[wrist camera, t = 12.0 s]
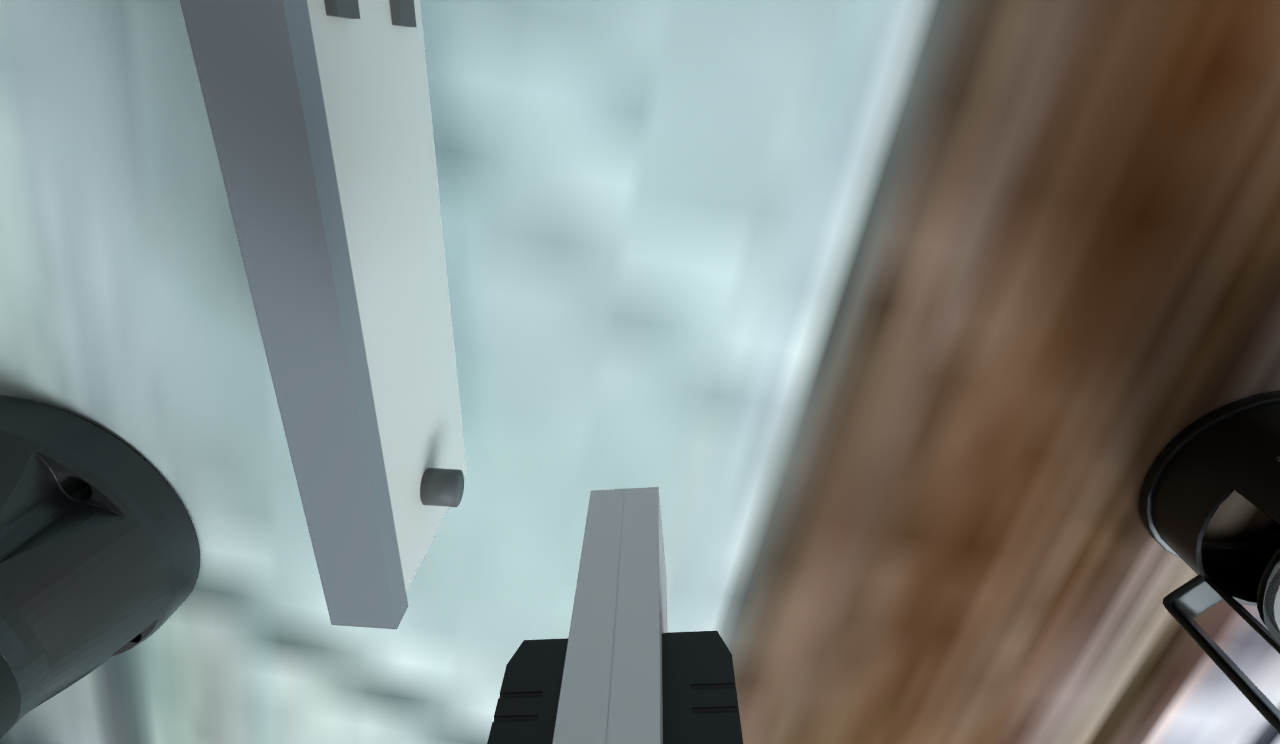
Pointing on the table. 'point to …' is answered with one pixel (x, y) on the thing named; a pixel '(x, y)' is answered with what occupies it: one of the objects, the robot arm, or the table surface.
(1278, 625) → the french press
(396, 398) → the grey long flat block
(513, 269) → the table surface
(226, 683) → the table surface
